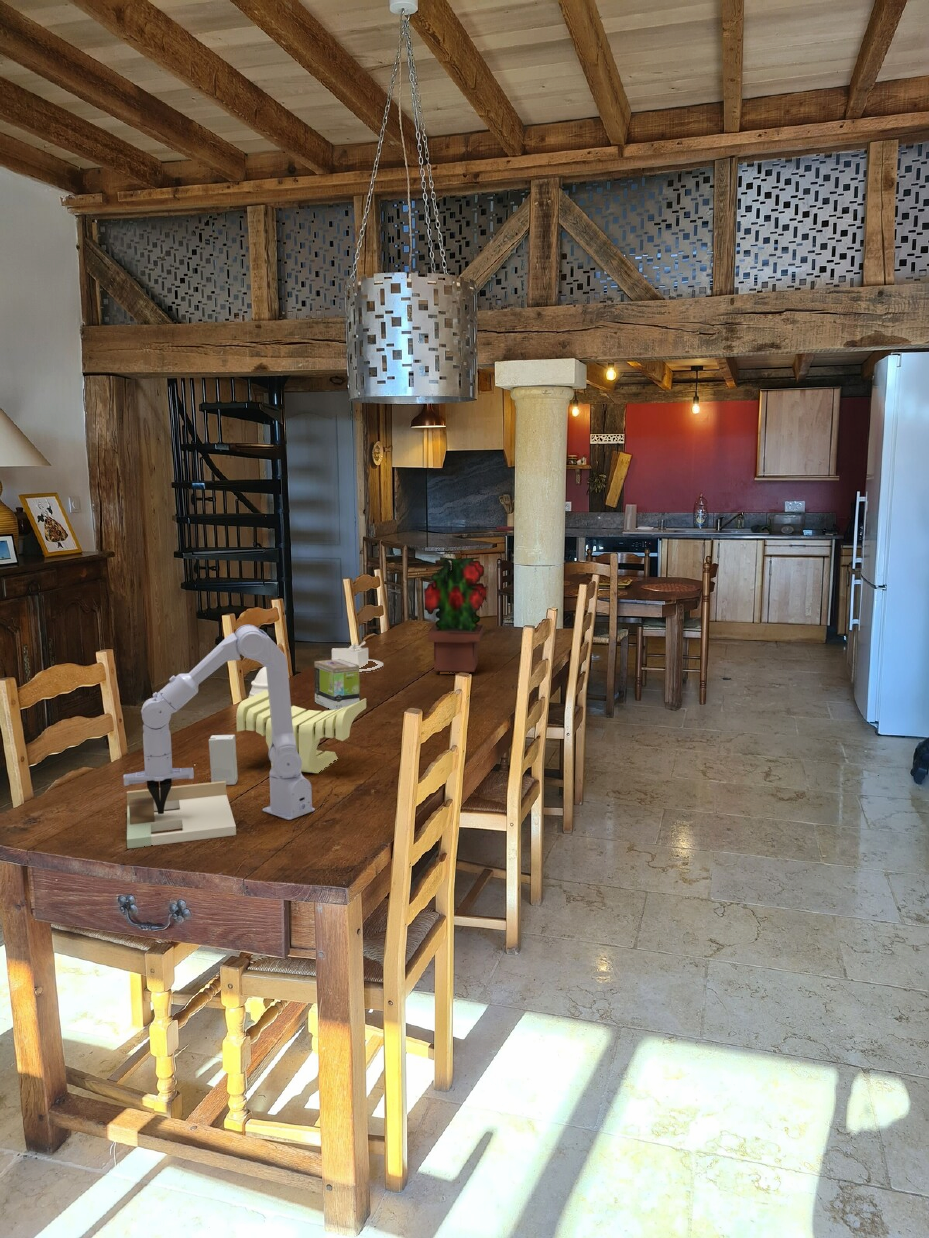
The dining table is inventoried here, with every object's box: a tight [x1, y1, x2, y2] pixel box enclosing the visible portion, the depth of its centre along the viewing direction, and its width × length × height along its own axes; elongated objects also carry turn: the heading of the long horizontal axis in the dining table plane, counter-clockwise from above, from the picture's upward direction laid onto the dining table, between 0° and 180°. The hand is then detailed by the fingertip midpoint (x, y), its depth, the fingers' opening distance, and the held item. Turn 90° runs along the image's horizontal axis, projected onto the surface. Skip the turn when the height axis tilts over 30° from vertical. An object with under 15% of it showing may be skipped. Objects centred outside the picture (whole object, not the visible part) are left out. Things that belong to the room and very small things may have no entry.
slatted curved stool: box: [235, 690, 367, 774], centre depth 241 cm, size 30×16×18 cm, turn 74°
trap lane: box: [126, 781, 237, 850], centre depth 202 cm, size 22×22×5 cm
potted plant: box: [423, 556, 488, 674], centre depth 357 cm, size 22×22×45 cm
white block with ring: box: [331, 640, 384, 672], centre depth 368 cm, size 25×25×11 cm
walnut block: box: [129, 797, 155, 825], centre depth 199 cm, size 5×5×4 cm
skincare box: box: [208, 734, 239, 786], centre depth 228 cm, size 6×4×12 cm
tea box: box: [313, 659, 361, 710], centre depth 306 cm, size 15×10×15 cm, turn 34°
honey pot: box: [247, 666, 268, 699], centre depth 290 cm, size 13×13×18 cm
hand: (160, 812), depth 200 cm, fingers closed
